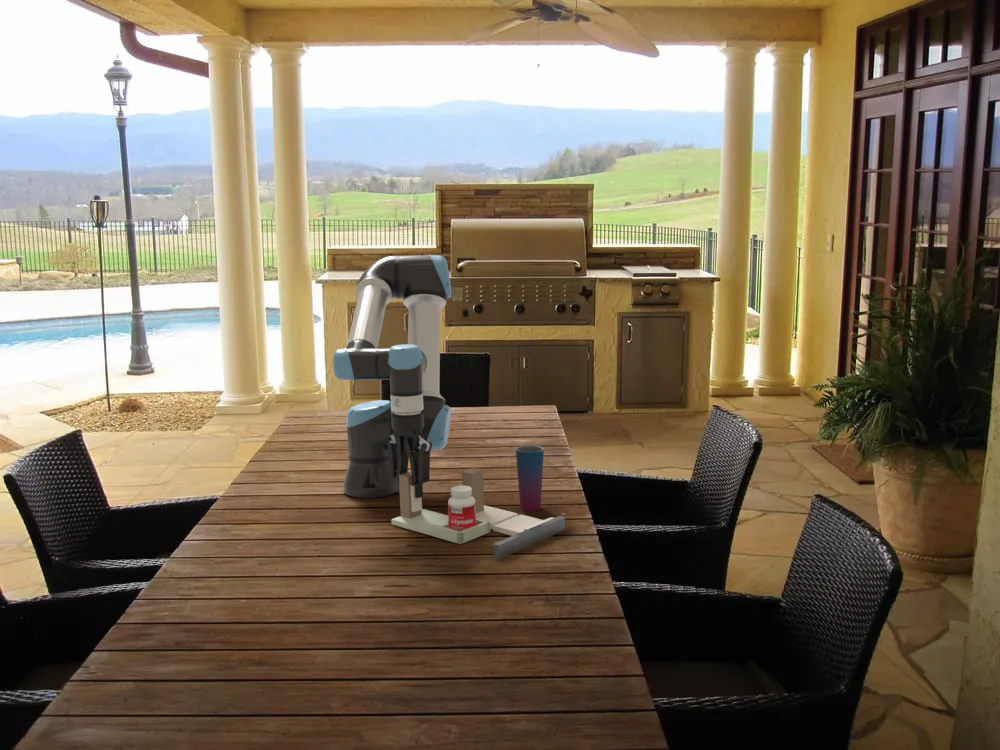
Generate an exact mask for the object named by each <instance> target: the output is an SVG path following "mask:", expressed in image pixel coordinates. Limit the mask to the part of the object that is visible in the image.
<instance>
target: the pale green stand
mask: <svg viewBox="0 0 1000 750" xmlns="http://www.w3.org/2000/svg"><path fill="white" fill-rule="evenodd" d="M411 483H413V480H412V473H411V471H408V472H407V473H404V474H401V475H399V485H400V494H399V502H400V503H399V506H400V507H399V508H400V509H399V510H400V516H396V517H394V518H392V519H391V525H393V526H397V527H400V528H404V529H407V530H411V531H414V532H416V533H420V534H424V535H428V536H432V537H435V538H437V539H442V540H445V541H448V542H451V543H455V544H458V545H462V544H465V543H468V542H469V541H472V540H475V539H477V538H479V537H482V536H484V535H486V534H489V533H491V530H492V529H491V527H490V522H489V521H485V520H482V519H478V518H476V525H475V526H473V527H470V528H468V529H465V530H463V531H456V530H452V529H449V523H448V514H443V513H440V512H437V511H432V510H429V509H425V508H422V509H421V510H419V511H416V512H411V487H410V485H411Z"/></svg>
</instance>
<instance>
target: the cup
mask: <svg viewBox="0 0 1000 750" xmlns="http://www.w3.org/2000/svg"><path fill="white" fill-rule="evenodd" d="M544 451H545V449H544V447H543V446H540V445H532V444H531V445H521V446H518V447H516V448H515V458H516V459H515V460H516V470H517V484H518V493H519V494H518V495H519V507H520V510H521V511H523V512H537V511H540V510H541V508H542V495H543V494H542V493H543V492H542V490H543V474H544V473H543V472H544V469H543V468H544Z"/></svg>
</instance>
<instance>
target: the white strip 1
mask: <svg viewBox="0 0 1000 750" xmlns="http://www.w3.org/2000/svg"><path fill="white" fill-rule="evenodd" d="M461 474H462V486H469V487H471V488H472V495H471V496H472V497H473V498H474V499H475V505H476V518H478V519H482V520H485V521H489V522H490V527H491V530H493V526H494V525H496V524H499V523H501V522H504V521H506V520H508V519H511V518H513V517H516V516H518V515H519V514H518V513H517V512H513V511H510V510H509V511H508V510H504V509H501V508H497V507H493V506H488V505H485V497H484V496H485V495H484V492H485V491H484V470H483V469H480V468H476V467H472V468H469V469H467V470H463V471H462V473H461Z"/></svg>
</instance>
